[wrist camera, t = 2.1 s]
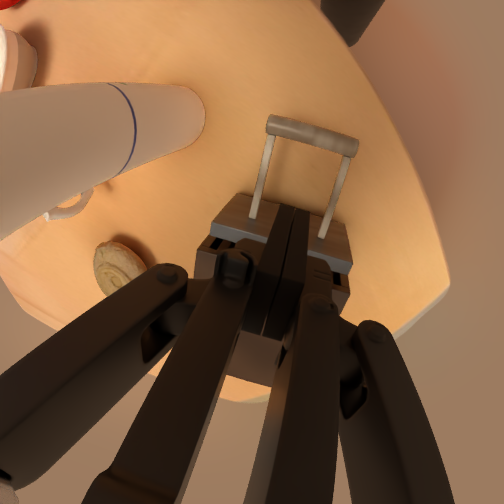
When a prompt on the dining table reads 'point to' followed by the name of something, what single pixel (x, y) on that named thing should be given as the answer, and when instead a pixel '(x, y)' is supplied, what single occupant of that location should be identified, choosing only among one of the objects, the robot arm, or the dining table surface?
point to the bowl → (16, 61)
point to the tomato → (7, 3)
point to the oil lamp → (116, 266)
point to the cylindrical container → (84, 139)
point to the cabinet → (256, 346)
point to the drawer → (263, 212)
